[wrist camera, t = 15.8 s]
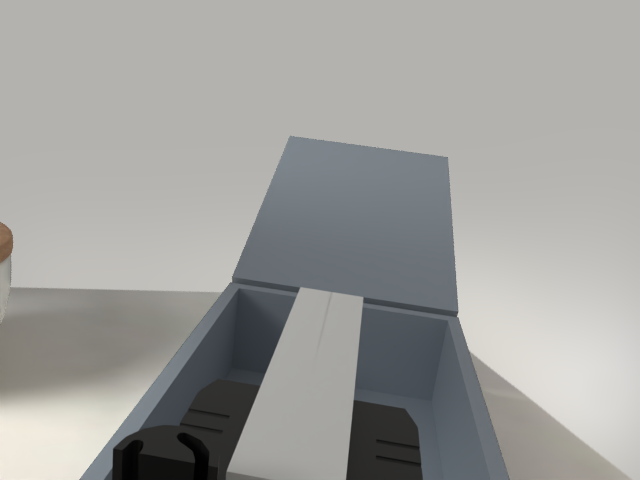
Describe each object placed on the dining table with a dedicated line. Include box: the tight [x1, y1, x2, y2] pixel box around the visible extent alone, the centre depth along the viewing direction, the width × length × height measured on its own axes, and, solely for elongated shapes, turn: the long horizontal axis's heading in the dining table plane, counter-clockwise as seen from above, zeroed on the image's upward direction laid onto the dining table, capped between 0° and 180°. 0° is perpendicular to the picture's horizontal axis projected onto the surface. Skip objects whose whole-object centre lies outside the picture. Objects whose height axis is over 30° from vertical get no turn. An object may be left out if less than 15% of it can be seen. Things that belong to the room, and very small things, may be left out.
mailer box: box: [79, 283, 510, 480], centre depth 30 cm, size 22×16×7 cm
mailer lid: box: [232, 136, 458, 317], centre depth 49 cm, size 22×16×1 cm
